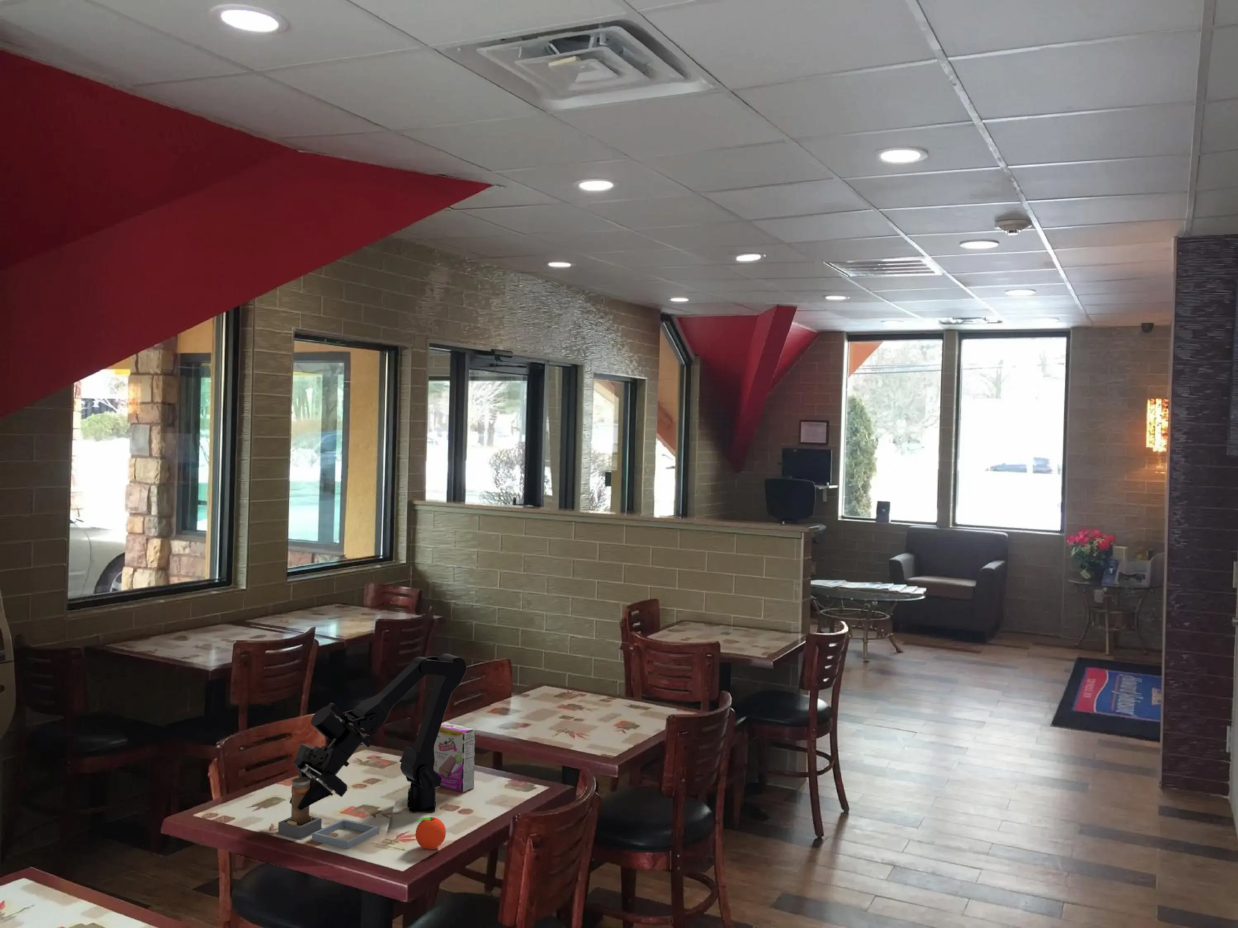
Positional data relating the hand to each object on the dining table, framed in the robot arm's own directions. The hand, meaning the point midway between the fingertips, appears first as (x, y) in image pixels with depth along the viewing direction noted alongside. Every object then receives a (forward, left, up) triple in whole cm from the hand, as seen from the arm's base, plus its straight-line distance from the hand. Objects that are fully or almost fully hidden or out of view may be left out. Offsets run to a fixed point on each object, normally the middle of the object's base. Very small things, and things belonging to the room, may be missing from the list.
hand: (294, 806), depth 235 cm
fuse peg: (-1, -1, -6) cm, 6 cm away
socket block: (-1, -1, -8) cm, 8 cm away
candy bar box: (-35, -35, -8) cm, 50 cm away
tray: (-12, +3, -8) cm, 15 cm away
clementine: (-31, +7, -8) cm, 33 cm away
